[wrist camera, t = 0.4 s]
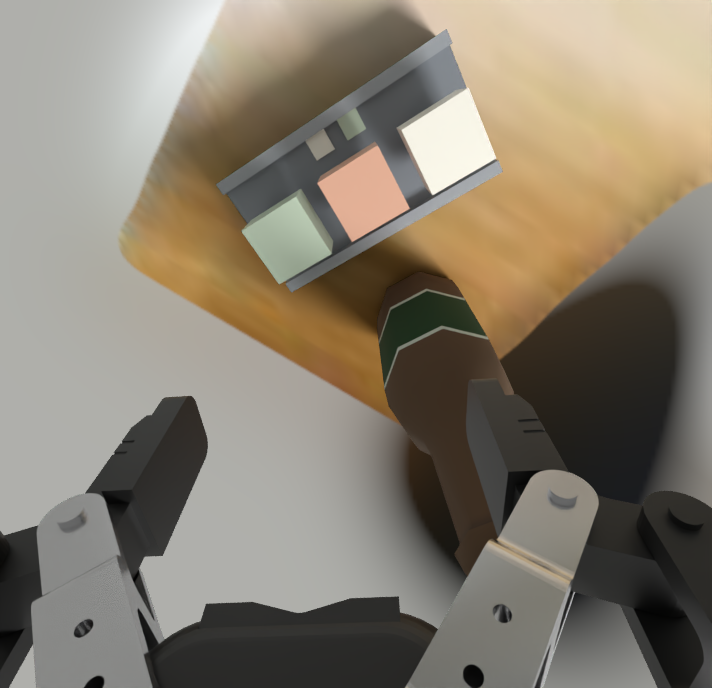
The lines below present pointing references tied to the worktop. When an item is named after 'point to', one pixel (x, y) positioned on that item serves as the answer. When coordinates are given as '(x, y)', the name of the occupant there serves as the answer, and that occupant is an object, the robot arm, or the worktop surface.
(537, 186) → the worktop surface
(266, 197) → the grey tray
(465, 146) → the key ivory
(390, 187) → the key terracotta
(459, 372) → the beer bottle
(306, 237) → the key sage
